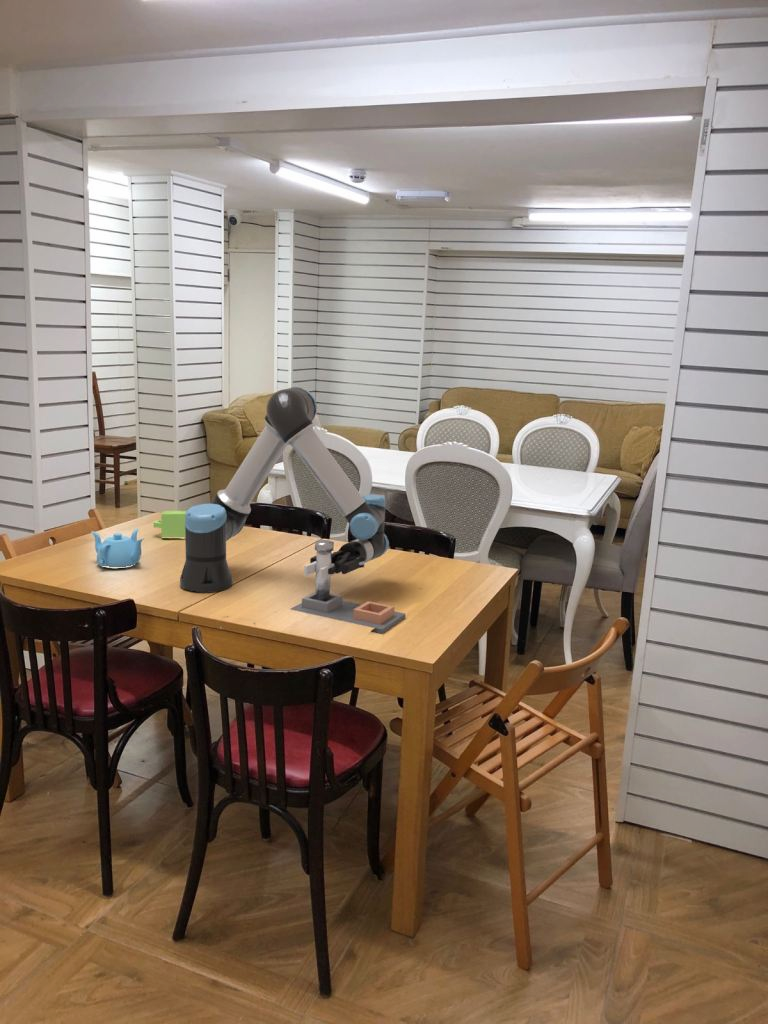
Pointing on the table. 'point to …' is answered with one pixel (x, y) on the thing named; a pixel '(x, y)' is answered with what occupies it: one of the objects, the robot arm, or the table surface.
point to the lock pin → (322, 560)
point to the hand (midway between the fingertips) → (313, 572)
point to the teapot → (118, 550)
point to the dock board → (352, 612)
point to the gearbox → (172, 524)
